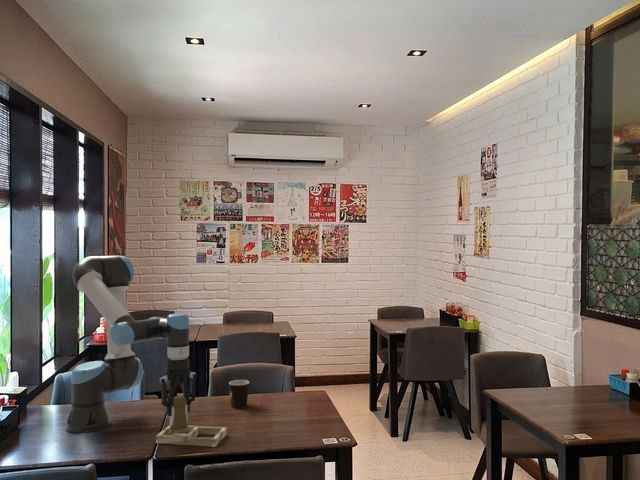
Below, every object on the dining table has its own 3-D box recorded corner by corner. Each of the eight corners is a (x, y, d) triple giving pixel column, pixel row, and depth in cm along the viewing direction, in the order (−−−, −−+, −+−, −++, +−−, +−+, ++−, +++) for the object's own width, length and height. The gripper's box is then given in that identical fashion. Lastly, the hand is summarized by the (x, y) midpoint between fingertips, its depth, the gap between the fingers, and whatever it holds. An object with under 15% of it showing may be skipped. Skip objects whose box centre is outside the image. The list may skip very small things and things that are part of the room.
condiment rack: (215, 446, 176) (215, 439, 176) (155, 443, 180) (155, 435, 180) (226, 434, 187) (226, 427, 187) (170, 431, 191) (170, 424, 191)
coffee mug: (247, 409, 215) (247, 385, 215) (227, 409, 215) (227, 385, 215) (251, 400, 227) (251, 378, 227) (232, 400, 227) (232, 377, 227)
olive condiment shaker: (178, 431, 180) (178, 400, 180) (166, 428, 183) (166, 397, 183) (191, 426, 185) (191, 395, 185) (179, 423, 188) (179, 393, 188)
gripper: (157, 362, 176) (158, 431, 176) (205, 356, 186) (205, 421, 186) (150, 359, 182) (151, 425, 182) (196, 352, 192) (197, 415, 192)
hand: (178, 423), depth 184 cm, fingers closed on olive condiment shaker, 4 cm apart
